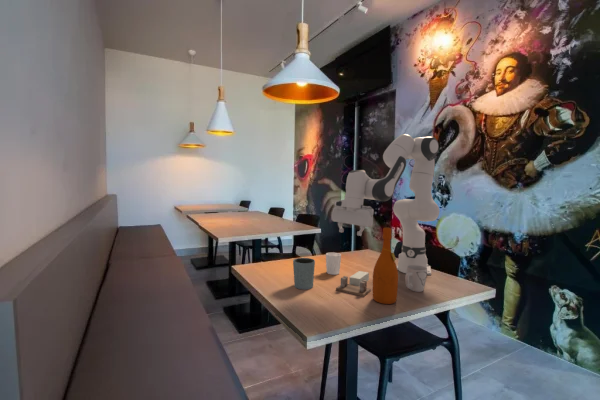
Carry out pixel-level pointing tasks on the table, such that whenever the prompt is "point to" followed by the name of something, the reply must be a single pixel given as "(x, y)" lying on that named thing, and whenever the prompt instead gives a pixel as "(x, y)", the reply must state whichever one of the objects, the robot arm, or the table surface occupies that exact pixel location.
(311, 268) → the dark grey cup
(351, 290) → the peg stand
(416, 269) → the mug
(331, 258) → the white cup
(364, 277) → the white rectangular block
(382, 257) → the wine bottle
